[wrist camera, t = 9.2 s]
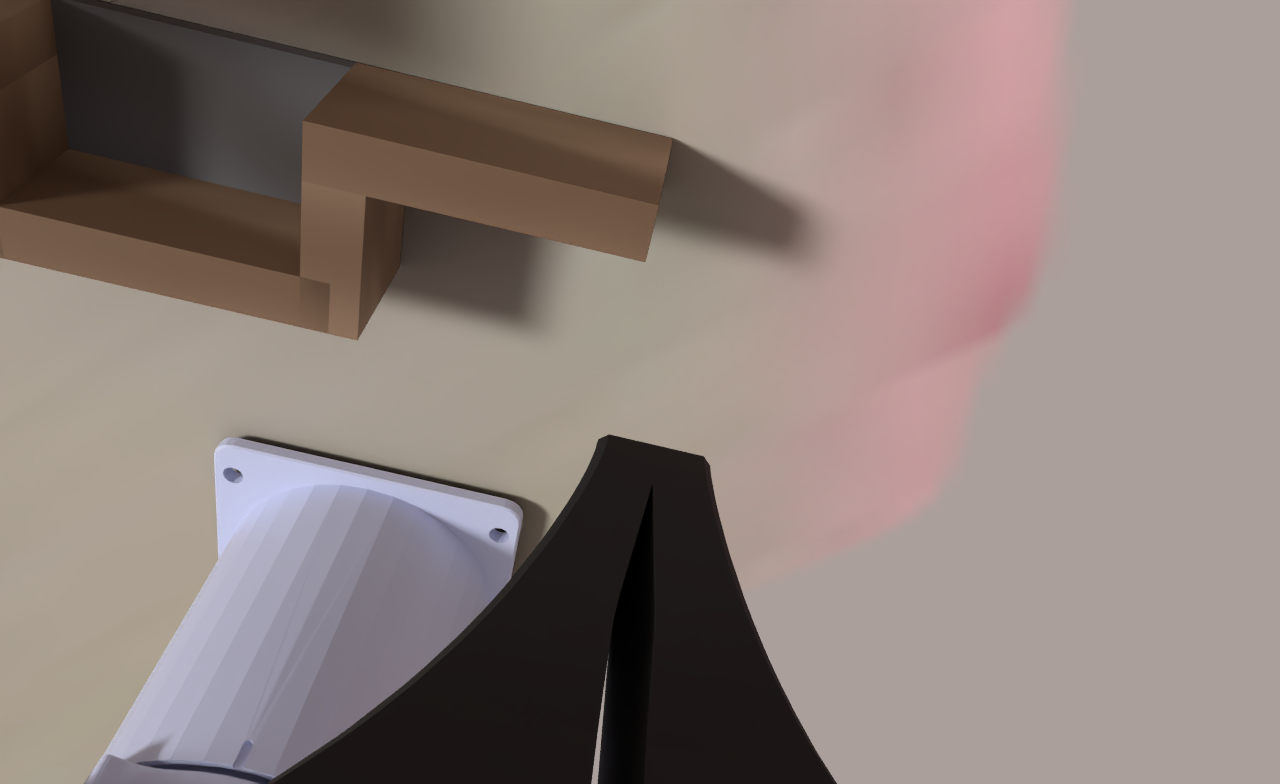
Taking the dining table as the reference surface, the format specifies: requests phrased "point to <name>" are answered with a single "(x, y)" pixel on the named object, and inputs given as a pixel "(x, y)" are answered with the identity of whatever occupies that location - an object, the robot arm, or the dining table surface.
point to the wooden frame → (277, 164)
